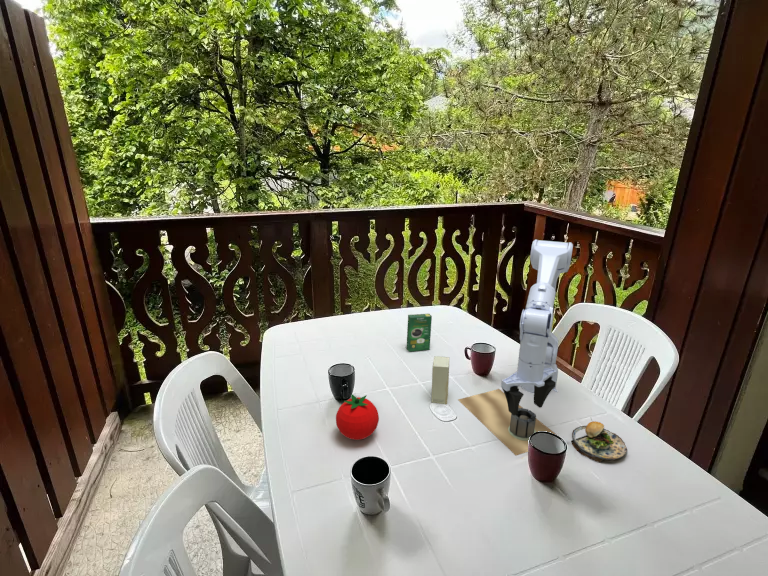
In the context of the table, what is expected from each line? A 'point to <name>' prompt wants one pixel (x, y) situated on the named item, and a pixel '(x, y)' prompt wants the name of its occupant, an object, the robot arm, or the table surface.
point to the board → (499, 418)
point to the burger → (598, 443)
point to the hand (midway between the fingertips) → (525, 409)
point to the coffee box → (418, 332)
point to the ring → (523, 423)
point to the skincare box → (440, 380)
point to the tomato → (357, 418)
